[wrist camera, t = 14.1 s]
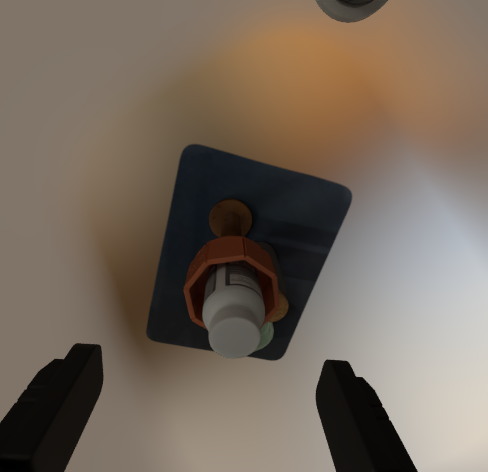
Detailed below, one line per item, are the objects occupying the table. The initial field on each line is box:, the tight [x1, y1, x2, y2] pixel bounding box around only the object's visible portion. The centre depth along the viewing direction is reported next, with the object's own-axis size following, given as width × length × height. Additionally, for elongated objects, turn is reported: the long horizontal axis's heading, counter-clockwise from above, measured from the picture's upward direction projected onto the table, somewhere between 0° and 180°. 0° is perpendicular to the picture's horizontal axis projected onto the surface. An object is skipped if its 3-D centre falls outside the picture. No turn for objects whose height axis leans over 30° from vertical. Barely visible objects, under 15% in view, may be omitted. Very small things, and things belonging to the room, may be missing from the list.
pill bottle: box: [202, 260, 265, 358], centre depth 26 cm, size 5×5×10 cm
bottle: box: [256, 242, 289, 322], centre depth 44 cm, size 6×6×15 cm
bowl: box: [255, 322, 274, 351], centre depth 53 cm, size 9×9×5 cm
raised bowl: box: [184, 236, 280, 329], centre depth 29 cm, size 9×9×5 cm
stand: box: [209, 198, 252, 237], centre depth 40 cm, size 7×7×18 cm
